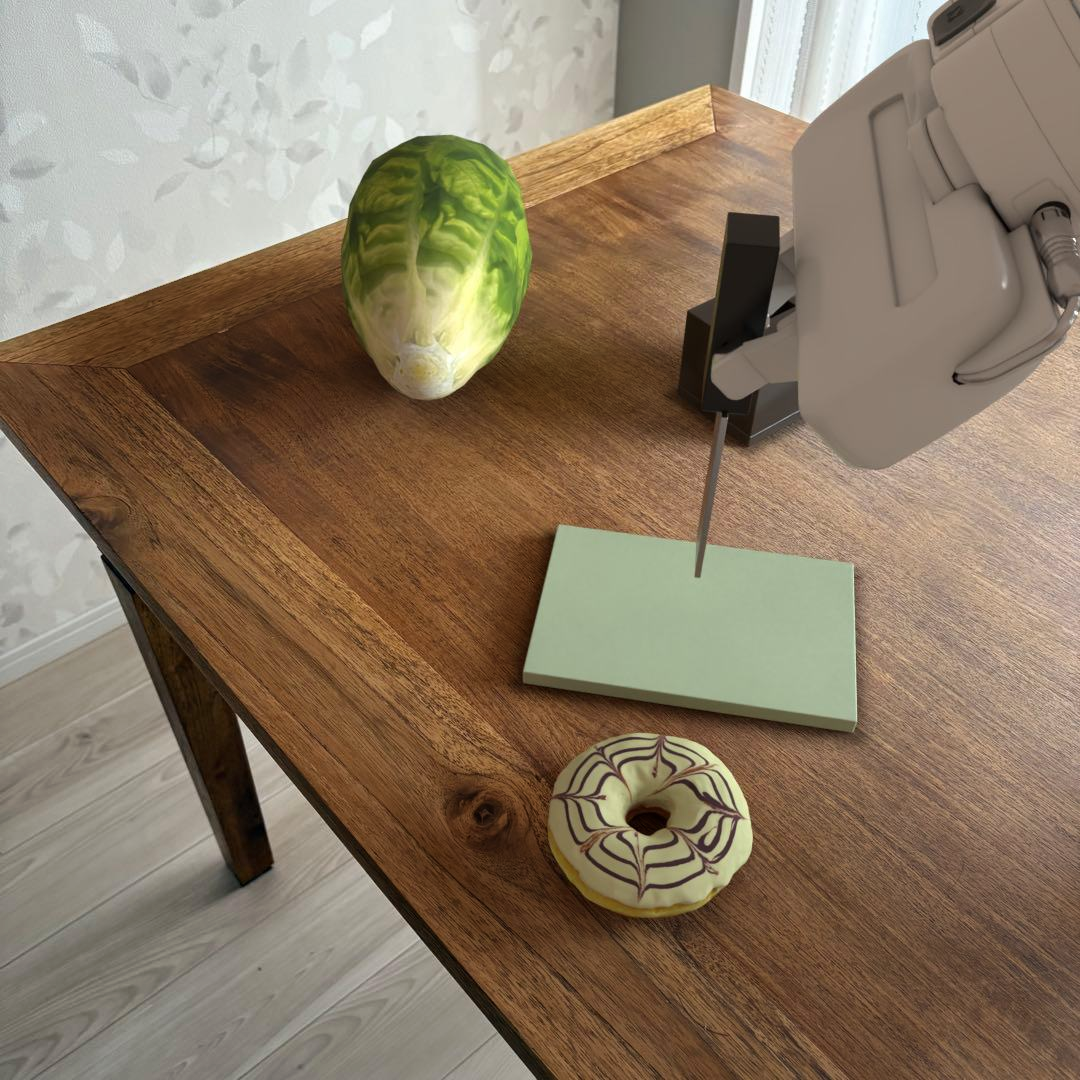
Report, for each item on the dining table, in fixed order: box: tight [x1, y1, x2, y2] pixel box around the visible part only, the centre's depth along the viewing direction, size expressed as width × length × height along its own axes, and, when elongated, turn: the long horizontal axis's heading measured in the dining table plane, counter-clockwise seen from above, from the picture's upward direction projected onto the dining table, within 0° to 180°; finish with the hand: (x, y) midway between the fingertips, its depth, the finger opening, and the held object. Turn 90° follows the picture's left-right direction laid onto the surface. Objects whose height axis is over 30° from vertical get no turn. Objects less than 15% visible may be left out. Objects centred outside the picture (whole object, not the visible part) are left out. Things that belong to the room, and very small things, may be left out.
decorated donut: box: [547, 732, 754, 919], centre depth 59 cm, size 10×11×4 cm
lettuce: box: [340, 134, 533, 402], centre depth 87 cm, size 15×27×16 cm, turn 0°
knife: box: [694, 211, 781, 578], centre depth 49 cm, size 2×3×18 cm, turn 172°
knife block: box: [676, 294, 803, 448], centre depth 86 cm, size 8×10×8 cm
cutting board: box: [522, 523, 858, 733], centre depth 71 cm, size 20×13×1 cm, turn 80°
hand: (721, 351), depth 46 cm, fingers closed on knife, 2 cm apart
